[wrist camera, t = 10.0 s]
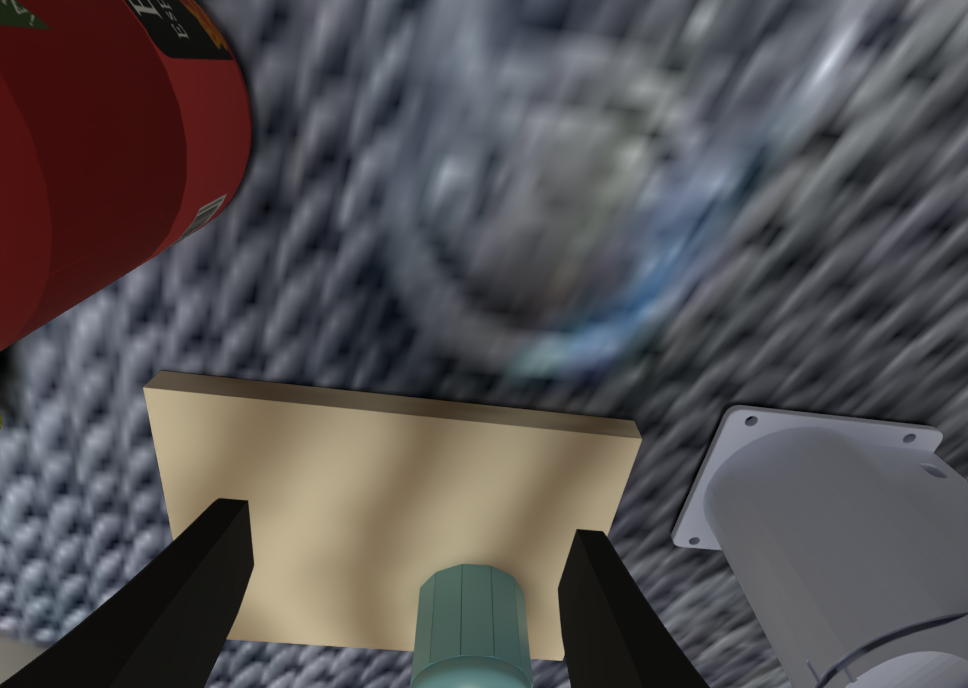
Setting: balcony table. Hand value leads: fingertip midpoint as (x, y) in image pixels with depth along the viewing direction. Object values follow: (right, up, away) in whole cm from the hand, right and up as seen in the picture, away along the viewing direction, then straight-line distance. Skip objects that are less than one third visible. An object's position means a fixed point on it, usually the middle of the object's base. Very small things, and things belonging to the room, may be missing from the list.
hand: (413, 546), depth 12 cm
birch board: (-3, -4, +13) cm, 14 cm away
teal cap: (+1, -8, +14) cm, 16 cm away
